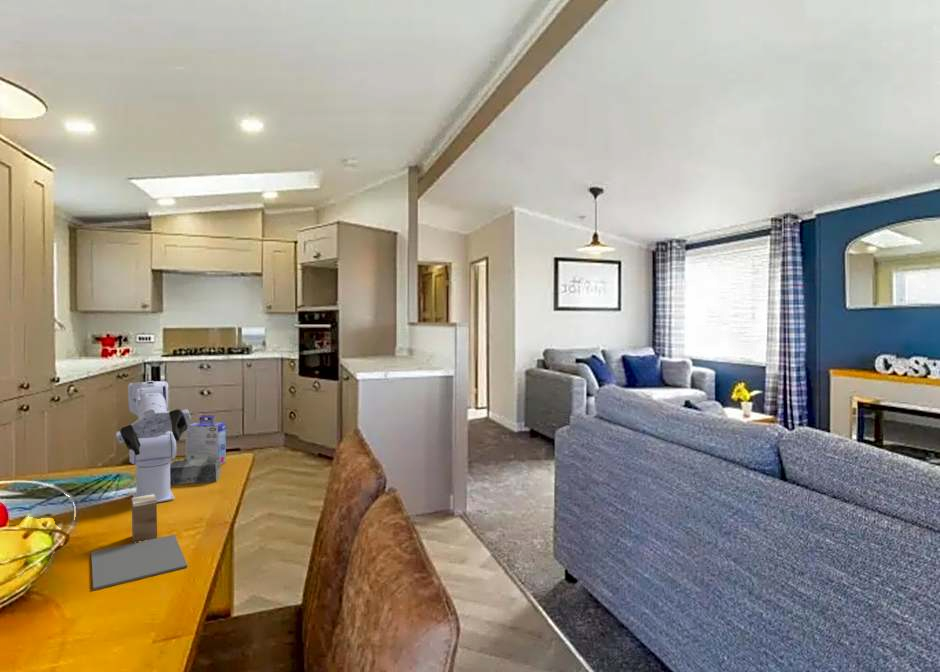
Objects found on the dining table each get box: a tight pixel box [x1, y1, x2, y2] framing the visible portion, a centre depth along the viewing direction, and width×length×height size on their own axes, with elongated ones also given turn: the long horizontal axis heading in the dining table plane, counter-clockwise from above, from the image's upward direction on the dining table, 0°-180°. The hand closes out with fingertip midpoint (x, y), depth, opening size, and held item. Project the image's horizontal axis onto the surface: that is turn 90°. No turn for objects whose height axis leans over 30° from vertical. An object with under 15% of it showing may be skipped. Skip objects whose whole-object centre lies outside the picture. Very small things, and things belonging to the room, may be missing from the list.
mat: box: [90, 534, 188, 591], centre depth 100 cm, size 16×14×1 cm
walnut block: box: [131, 494, 158, 543], centre depth 110 cm, size 4×4×8 cm
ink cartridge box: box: [185, 414, 227, 465], centre depth 160 cm, size 10×6×14 cm, turn 91°
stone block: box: [170, 457, 222, 486], centre depth 147 cm, size 9×14×5 cm, turn 105°
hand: (156, 443), depth 114 cm, fingers open, 7 cm apart
